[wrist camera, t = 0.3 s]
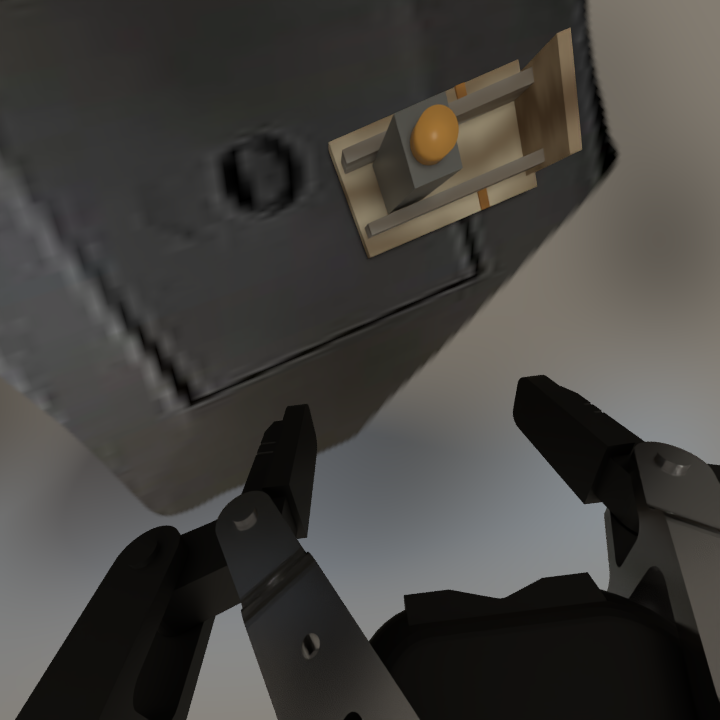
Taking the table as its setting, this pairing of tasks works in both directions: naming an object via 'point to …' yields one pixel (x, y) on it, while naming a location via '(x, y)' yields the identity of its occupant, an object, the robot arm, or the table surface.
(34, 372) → the table surface
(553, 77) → the track
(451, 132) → the orange-capped grey pillar
